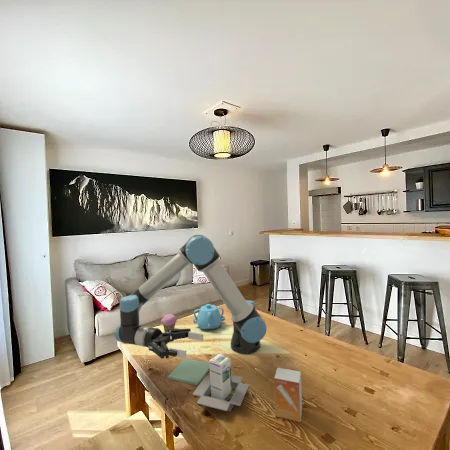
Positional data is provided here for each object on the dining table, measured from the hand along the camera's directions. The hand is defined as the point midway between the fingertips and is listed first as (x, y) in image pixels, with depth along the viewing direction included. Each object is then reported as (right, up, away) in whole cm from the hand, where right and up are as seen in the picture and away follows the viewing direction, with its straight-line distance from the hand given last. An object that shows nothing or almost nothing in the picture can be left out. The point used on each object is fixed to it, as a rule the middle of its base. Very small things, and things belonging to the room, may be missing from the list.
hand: (194, 345), depth 95 cm
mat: (-3, -18, +13) cm, 22 cm away
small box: (+33, -17, -12) cm, 39 cm away
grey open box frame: (+10, -18, -3) cm, 21 cm away
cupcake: (-22, -18, +55) cm, 62 cm away
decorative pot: (+2, -17, +59) cm, 62 cm away
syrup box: (+10, -18, -3) cm, 21 cm away
